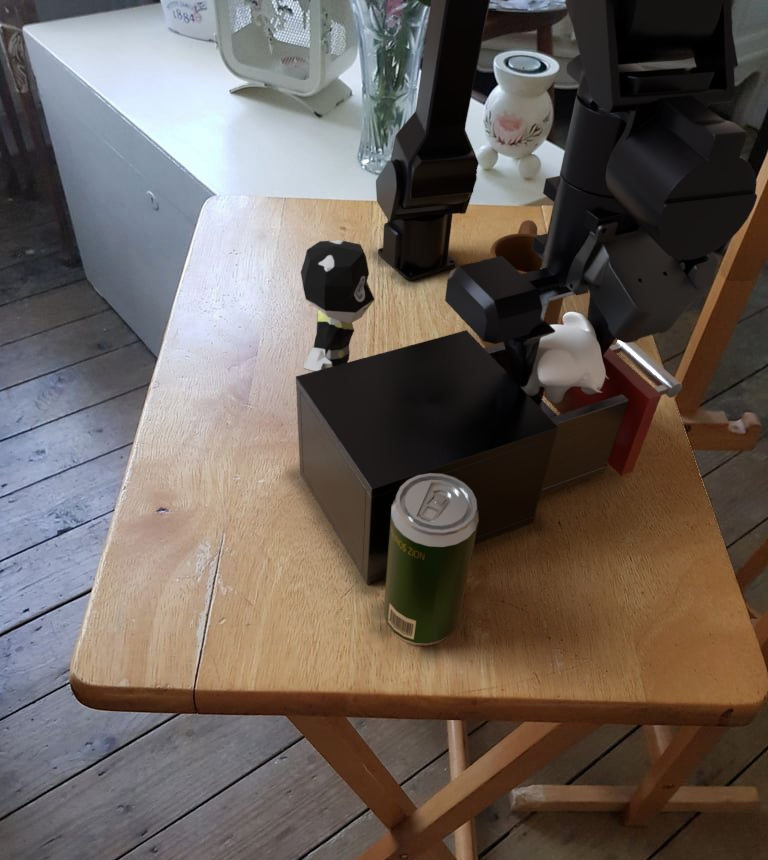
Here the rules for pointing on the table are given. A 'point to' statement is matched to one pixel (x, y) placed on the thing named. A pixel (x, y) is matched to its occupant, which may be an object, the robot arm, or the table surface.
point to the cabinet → (419, 440)
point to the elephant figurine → (568, 360)
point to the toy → (335, 298)
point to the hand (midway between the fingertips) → (555, 372)
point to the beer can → (429, 557)
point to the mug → (524, 262)
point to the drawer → (601, 416)
